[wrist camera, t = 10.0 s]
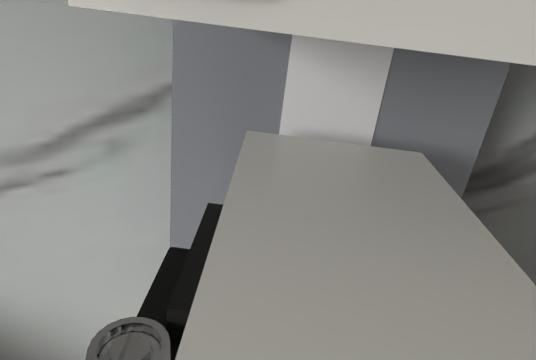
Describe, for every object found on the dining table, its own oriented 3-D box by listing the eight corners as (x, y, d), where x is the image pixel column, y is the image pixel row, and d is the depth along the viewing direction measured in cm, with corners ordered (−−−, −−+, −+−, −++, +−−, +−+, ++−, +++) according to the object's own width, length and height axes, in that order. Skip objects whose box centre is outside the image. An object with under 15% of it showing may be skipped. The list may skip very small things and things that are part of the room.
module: (246, 130, 11) (161, 402, 4) (421, 152, 11) (693, 468, 4) (230, 295, 14) (160, 656, 6) (373, 313, 14) (476, 693, 6)
